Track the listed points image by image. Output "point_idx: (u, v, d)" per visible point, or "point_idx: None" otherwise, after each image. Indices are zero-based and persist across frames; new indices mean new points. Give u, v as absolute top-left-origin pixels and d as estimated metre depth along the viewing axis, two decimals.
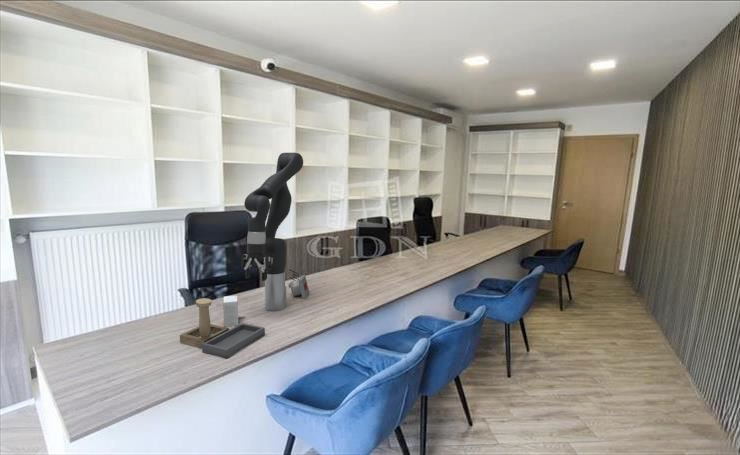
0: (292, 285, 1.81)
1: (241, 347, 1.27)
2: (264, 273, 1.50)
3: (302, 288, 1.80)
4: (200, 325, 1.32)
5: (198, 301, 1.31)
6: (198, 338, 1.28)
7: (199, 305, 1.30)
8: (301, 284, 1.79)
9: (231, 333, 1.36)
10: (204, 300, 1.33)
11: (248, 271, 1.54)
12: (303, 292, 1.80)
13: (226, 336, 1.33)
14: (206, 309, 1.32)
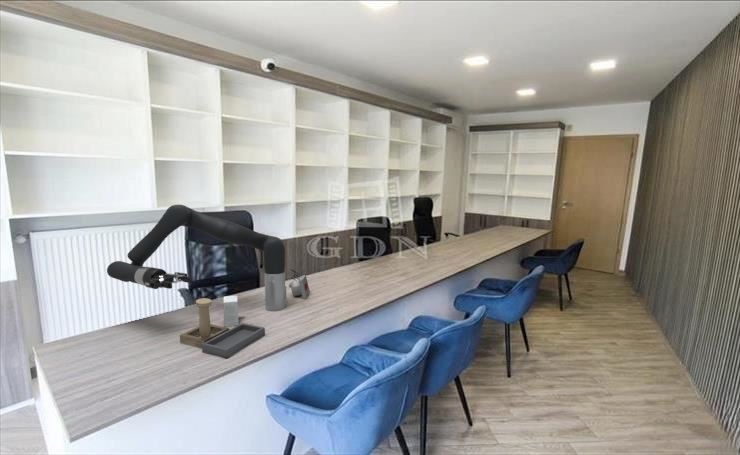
0: (292, 285, 1.81)
1: (241, 347, 1.27)
2: (163, 286, 1.32)
3: (302, 288, 1.80)
4: (200, 325, 1.32)
5: (198, 301, 1.31)
6: (198, 338, 1.28)
7: (199, 305, 1.30)
8: (301, 284, 1.79)
9: (231, 333, 1.36)
10: (204, 300, 1.33)
11: (183, 279, 1.40)
12: (303, 292, 1.80)
13: (226, 336, 1.33)
14: (206, 309, 1.32)
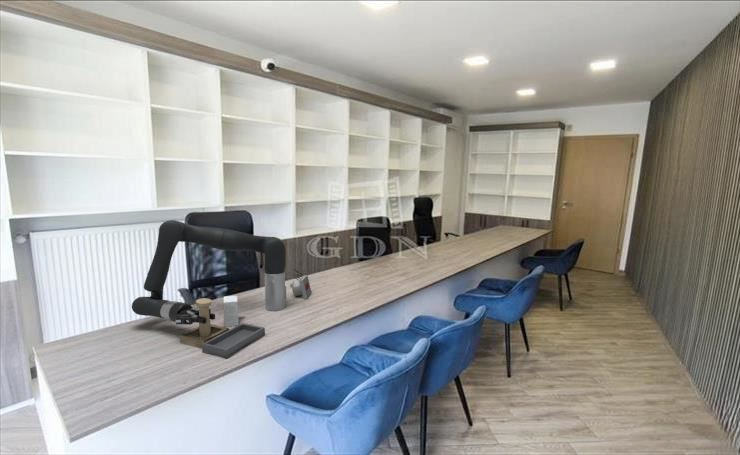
0: (293, 285, 1.82)
1: (241, 347, 1.27)
2: (197, 321, 1.31)
3: (303, 288, 1.79)
4: (200, 325, 1.32)
5: (198, 301, 1.31)
6: (198, 338, 1.28)
7: (199, 305, 1.30)
8: (302, 284, 1.79)
9: (231, 333, 1.36)
10: (204, 300, 1.33)
11: None
12: (304, 292, 1.80)
13: (226, 336, 1.33)
14: (206, 309, 1.32)
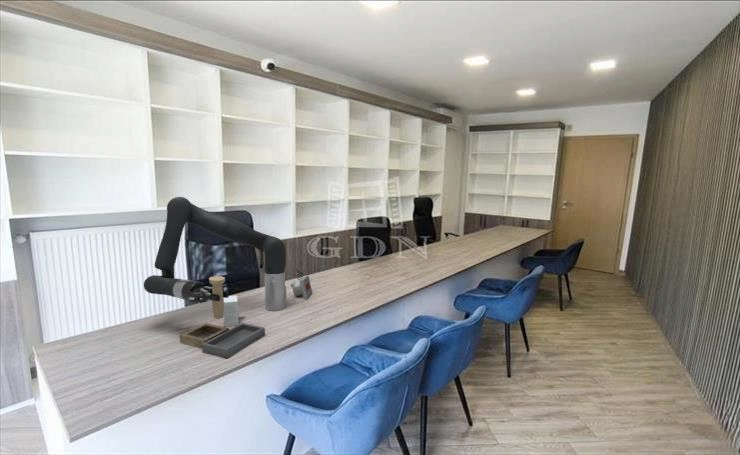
0: (294, 285, 1.82)
1: (241, 347, 1.27)
2: None
3: (303, 288, 1.79)
4: (213, 303, 1.29)
5: (211, 278, 1.29)
6: (198, 338, 1.28)
7: (213, 282, 1.27)
8: (302, 284, 1.79)
9: (231, 333, 1.36)
10: (218, 277, 1.30)
11: None
12: (304, 292, 1.80)
13: (226, 336, 1.33)
14: (220, 286, 1.29)
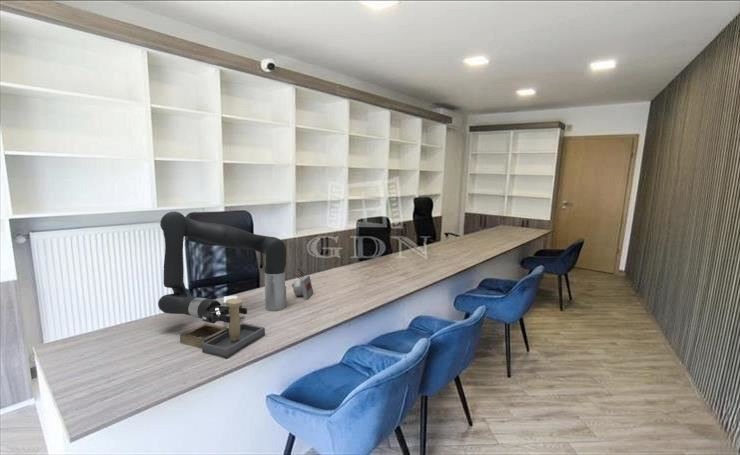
0: (295, 285, 1.82)
1: (241, 347, 1.27)
2: (220, 320, 1.26)
3: (304, 288, 1.79)
4: (230, 326, 1.29)
5: (228, 301, 1.29)
6: (198, 338, 1.28)
7: (230, 305, 1.27)
8: (303, 284, 1.79)
9: None
10: (235, 300, 1.30)
11: (239, 310, 1.34)
12: (305, 292, 1.79)
13: (226, 336, 1.33)
14: (237, 309, 1.29)
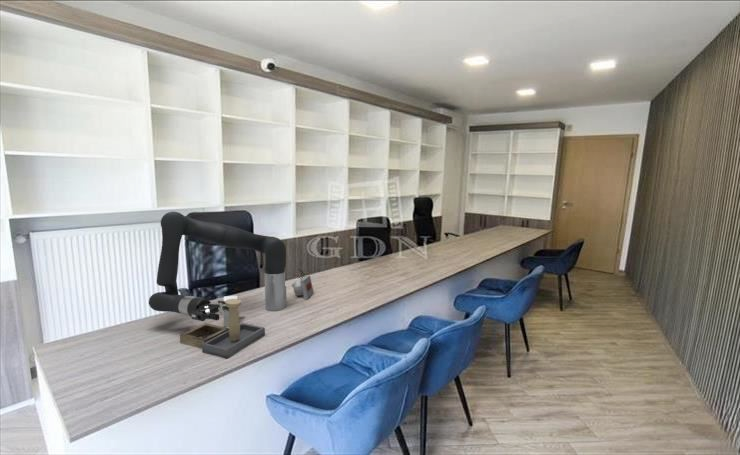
0: (295, 285, 1.82)
1: (241, 347, 1.27)
2: None
3: (304, 288, 1.79)
4: (230, 326, 1.29)
5: (228, 301, 1.29)
6: (198, 338, 1.28)
7: (229, 306, 1.27)
8: (303, 284, 1.79)
9: None
10: (234, 300, 1.30)
11: (228, 308, 1.36)
12: (305, 292, 1.79)
13: (226, 336, 1.33)
14: (236, 310, 1.29)
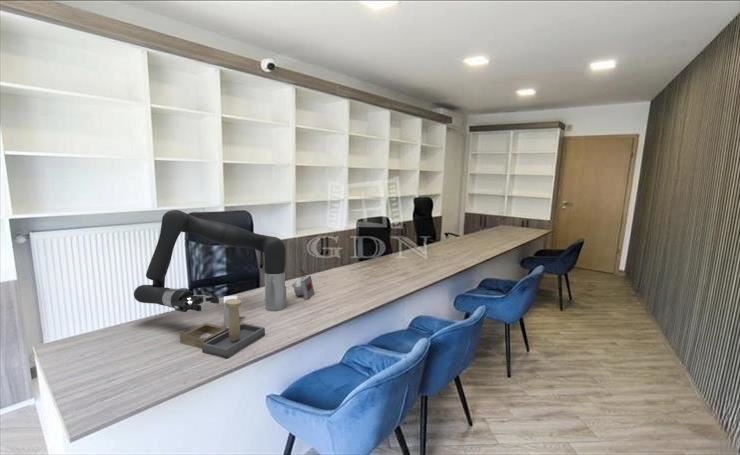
0: (295, 285, 1.82)
1: (241, 347, 1.27)
2: None
3: (304, 288, 1.79)
4: (230, 326, 1.29)
5: (228, 302, 1.29)
6: (198, 338, 1.28)
7: (229, 306, 1.27)
8: (303, 284, 1.79)
9: None
10: (234, 300, 1.30)
11: (211, 300, 1.39)
12: (305, 292, 1.79)
13: (226, 336, 1.33)
14: (236, 310, 1.29)
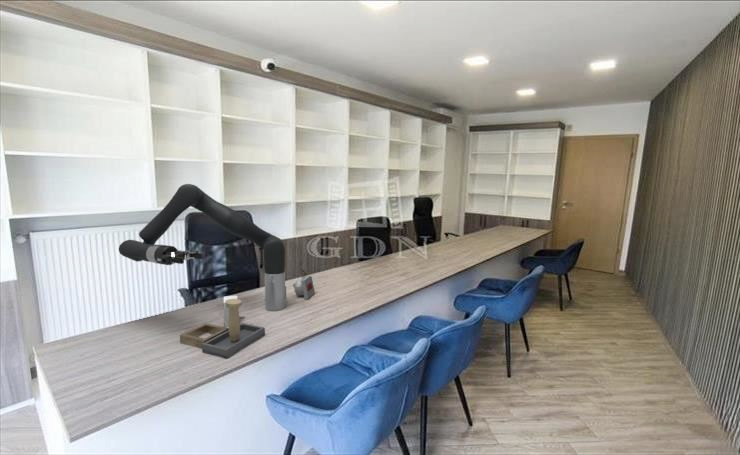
0: (296, 285, 1.82)
1: (241, 347, 1.27)
2: None
3: (304, 288, 1.79)
4: (230, 326, 1.29)
5: (228, 302, 1.29)
6: (198, 338, 1.28)
7: (229, 306, 1.27)
8: (303, 284, 1.79)
9: None
10: (234, 300, 1.30)
11: (195, 256, 1.39)
12: (305, 292, 1.79)
13: (226, 336, 1.33)
14: (236, 310, 1.29)
